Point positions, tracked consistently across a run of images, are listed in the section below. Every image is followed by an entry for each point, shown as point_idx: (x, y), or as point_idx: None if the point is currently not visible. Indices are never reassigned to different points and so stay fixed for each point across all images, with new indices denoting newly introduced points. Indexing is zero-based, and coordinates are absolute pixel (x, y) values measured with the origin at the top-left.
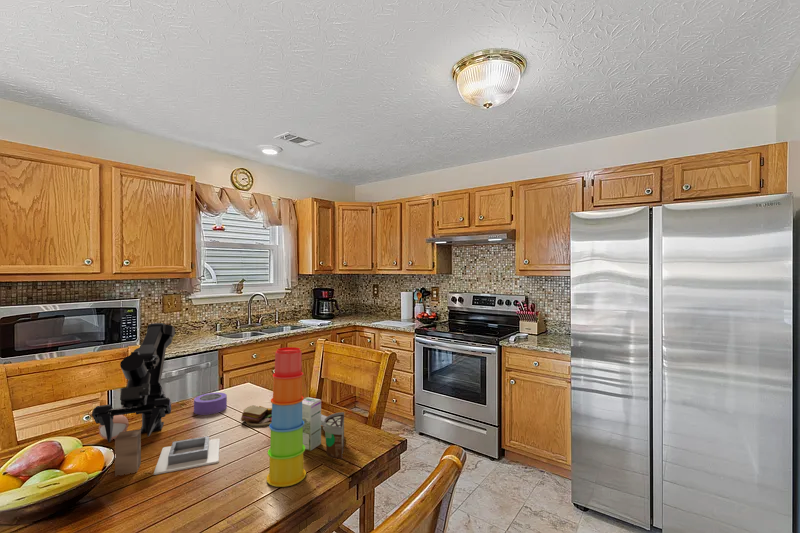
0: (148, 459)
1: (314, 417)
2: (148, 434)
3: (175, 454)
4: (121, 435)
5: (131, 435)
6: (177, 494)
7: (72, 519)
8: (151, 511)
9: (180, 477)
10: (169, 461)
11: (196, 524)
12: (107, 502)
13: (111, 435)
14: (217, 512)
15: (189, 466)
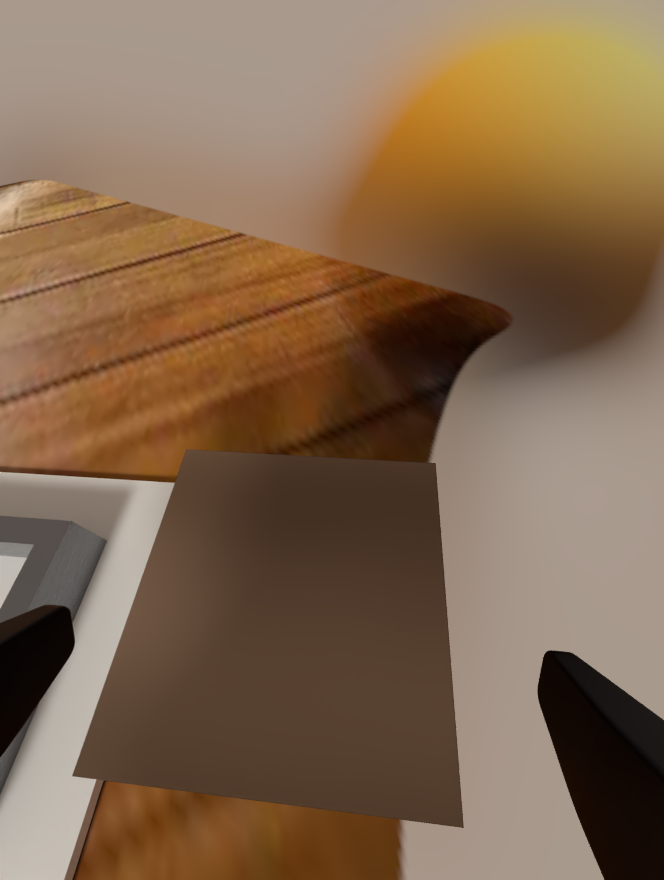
0: None
1: None
2: (49, 604)
3: (20, 532)
4: (383, 586)
5: (245, 509)
6: (150, 316)
7: (447, 312)
8: (233, 274)
9: (102, 413)
10: (85, 533)
11: (151, 212)
12: (364, 355)
13: (612, 862)
14: (96, 227)
15: (26, 474)
